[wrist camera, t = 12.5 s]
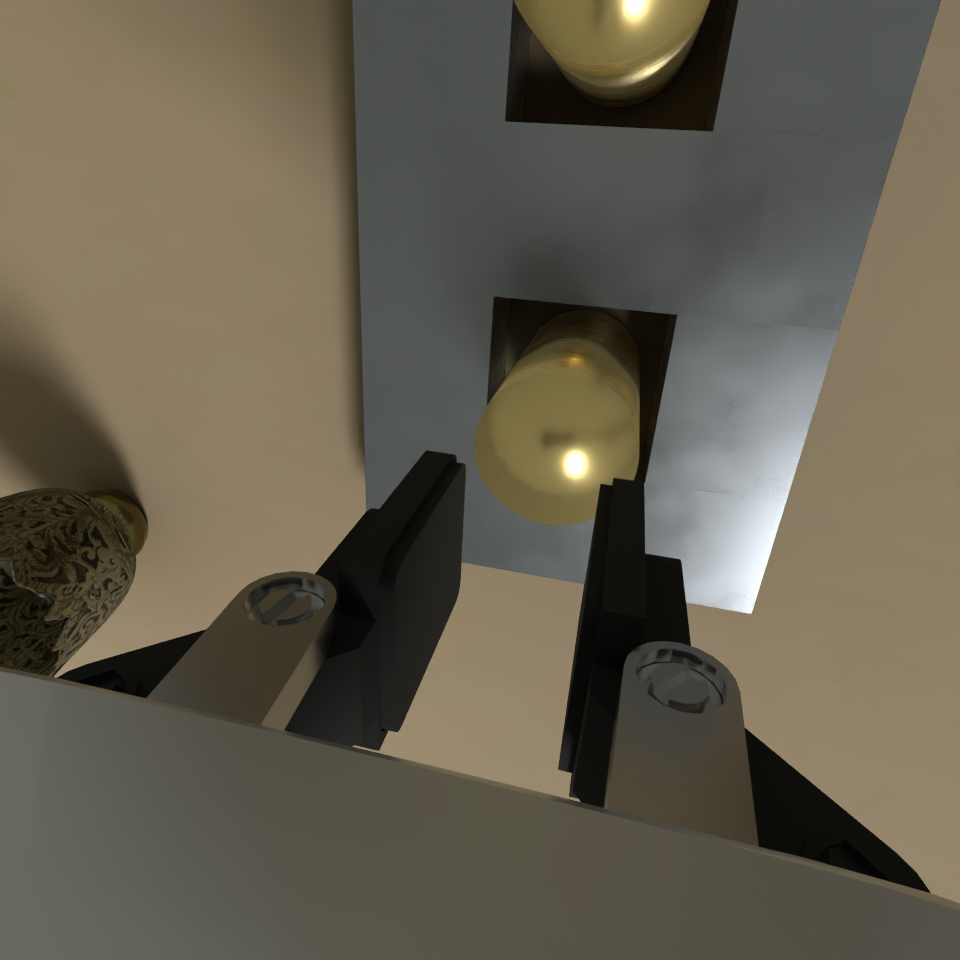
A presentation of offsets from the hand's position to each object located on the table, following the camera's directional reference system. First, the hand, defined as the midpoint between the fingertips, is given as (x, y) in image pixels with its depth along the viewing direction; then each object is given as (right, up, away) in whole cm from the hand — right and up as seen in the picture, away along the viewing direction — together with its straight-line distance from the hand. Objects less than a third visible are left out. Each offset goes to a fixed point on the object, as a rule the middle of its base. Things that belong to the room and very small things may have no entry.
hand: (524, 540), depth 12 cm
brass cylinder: (+3, +5, +11) cm, 12 cm away
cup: (-18, -1, +19) cm, 26 cm away
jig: (+3, +10, +9) cm, 13 cm away
